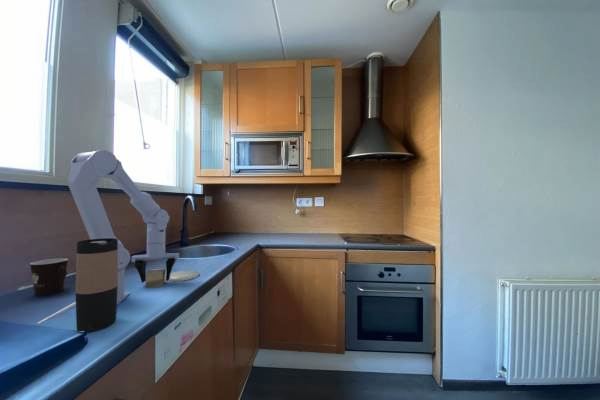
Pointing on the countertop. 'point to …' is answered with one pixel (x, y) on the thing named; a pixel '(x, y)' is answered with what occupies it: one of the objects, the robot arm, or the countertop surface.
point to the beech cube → (155, 278)
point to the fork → (59, 312)
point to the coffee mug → (48, 276)
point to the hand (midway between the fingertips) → (155, 280)
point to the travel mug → (96, 284)
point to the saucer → (182, 275)
